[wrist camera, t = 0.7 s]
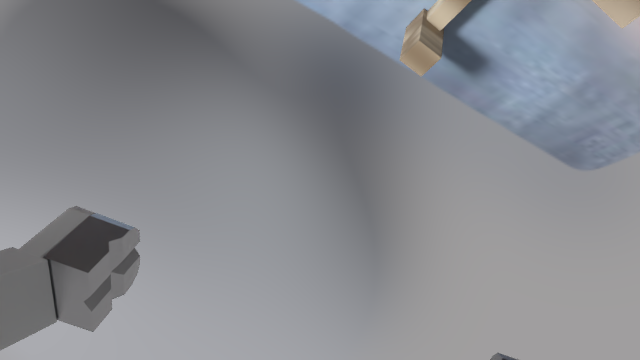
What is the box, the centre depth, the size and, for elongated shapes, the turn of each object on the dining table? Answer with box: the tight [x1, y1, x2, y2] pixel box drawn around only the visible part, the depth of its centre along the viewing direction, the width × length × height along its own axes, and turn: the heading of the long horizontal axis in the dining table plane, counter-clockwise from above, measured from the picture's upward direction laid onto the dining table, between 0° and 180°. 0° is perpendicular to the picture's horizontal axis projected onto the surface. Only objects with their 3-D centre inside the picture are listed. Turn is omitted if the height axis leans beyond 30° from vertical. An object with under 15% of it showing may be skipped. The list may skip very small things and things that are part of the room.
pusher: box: [400, 0, 471, 76], centre depth 49 cm, size 14×8×7 cm, turn 146°
